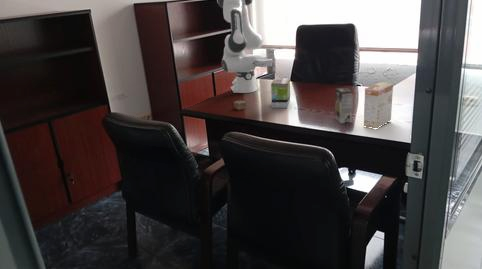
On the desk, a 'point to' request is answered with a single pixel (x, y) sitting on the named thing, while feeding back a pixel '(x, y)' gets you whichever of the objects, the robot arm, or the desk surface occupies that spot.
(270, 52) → the tin canister
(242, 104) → the walnut coaster block
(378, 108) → the coffeecake box
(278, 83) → the tea box
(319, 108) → the desk surface
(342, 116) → the coffee box
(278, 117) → the desk surface
